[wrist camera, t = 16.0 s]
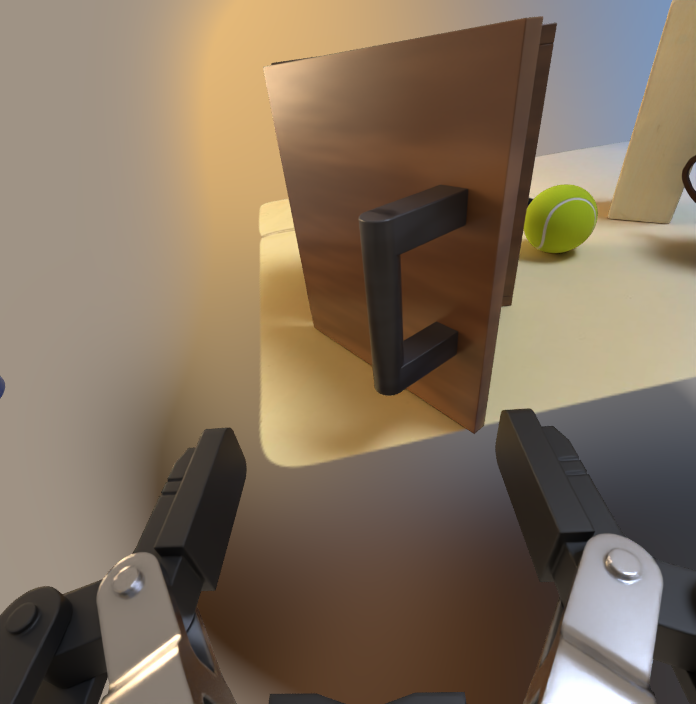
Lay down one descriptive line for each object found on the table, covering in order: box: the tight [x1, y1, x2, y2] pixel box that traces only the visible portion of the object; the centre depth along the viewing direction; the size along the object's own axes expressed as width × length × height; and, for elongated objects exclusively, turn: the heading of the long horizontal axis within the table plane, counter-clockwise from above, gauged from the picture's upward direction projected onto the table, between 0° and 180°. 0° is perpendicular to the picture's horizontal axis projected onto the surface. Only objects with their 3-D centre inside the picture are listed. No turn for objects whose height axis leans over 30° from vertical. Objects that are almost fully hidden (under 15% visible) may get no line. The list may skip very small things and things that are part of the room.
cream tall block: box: [608, 0, 696, 223], centre depth 43 cm, size 8×7×21 cm
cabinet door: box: [263, 17, 543, 434], centre depth 23 cm, size 6×18×20 cm, turn 38°
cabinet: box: [271, 23, 557, 306], centre depth 35 cm, size 12×18×20 cm, turn 89°
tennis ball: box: [524, 185, 598, 253], centre depth 41 cm, size 7×7×7 cm
